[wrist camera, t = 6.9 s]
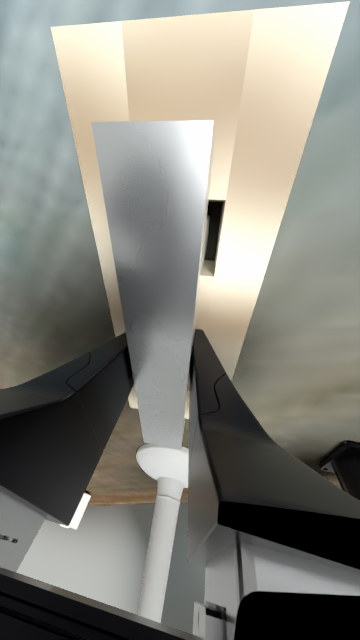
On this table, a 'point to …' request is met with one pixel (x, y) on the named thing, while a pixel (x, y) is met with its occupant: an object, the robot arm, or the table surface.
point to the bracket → (79, 512)
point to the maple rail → (229, 129)
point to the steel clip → (158, 254)
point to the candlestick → (161, 521)
